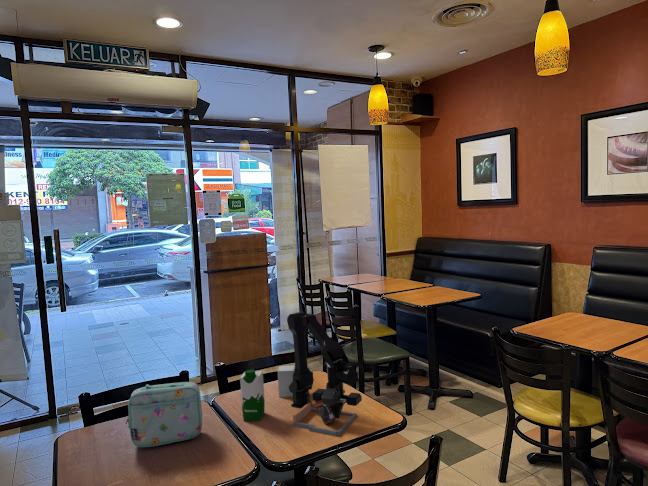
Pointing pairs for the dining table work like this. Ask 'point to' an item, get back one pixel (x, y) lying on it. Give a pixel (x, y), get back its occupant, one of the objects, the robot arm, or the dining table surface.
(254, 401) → the milk carton
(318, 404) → the supplement bottle
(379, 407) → the dining table surface
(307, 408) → the grey flat frame
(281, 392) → the supplement box
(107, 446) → the dining table surface
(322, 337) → the robot arm
